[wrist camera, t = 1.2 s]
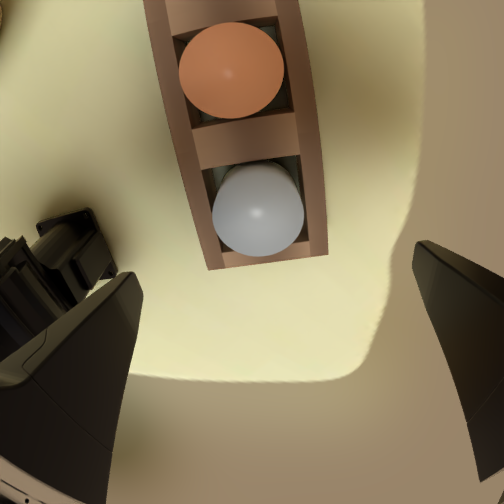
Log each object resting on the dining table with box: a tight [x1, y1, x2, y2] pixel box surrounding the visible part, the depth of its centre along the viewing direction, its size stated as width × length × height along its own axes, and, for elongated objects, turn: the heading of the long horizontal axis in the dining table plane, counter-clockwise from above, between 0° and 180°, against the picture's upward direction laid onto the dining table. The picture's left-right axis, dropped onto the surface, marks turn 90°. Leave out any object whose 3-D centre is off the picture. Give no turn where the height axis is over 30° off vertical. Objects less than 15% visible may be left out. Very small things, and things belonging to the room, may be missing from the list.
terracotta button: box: [179, 22, 284, 119], centre depth 14 cm, size 5×5×3 cm
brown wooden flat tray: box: [143, 0, 328, 270], centre depth 15 cm, size 8×24×3 cm, turn 10°
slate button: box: [212, 159, 304, 257], centre depth 18 cm, size 5×5×3 cm
